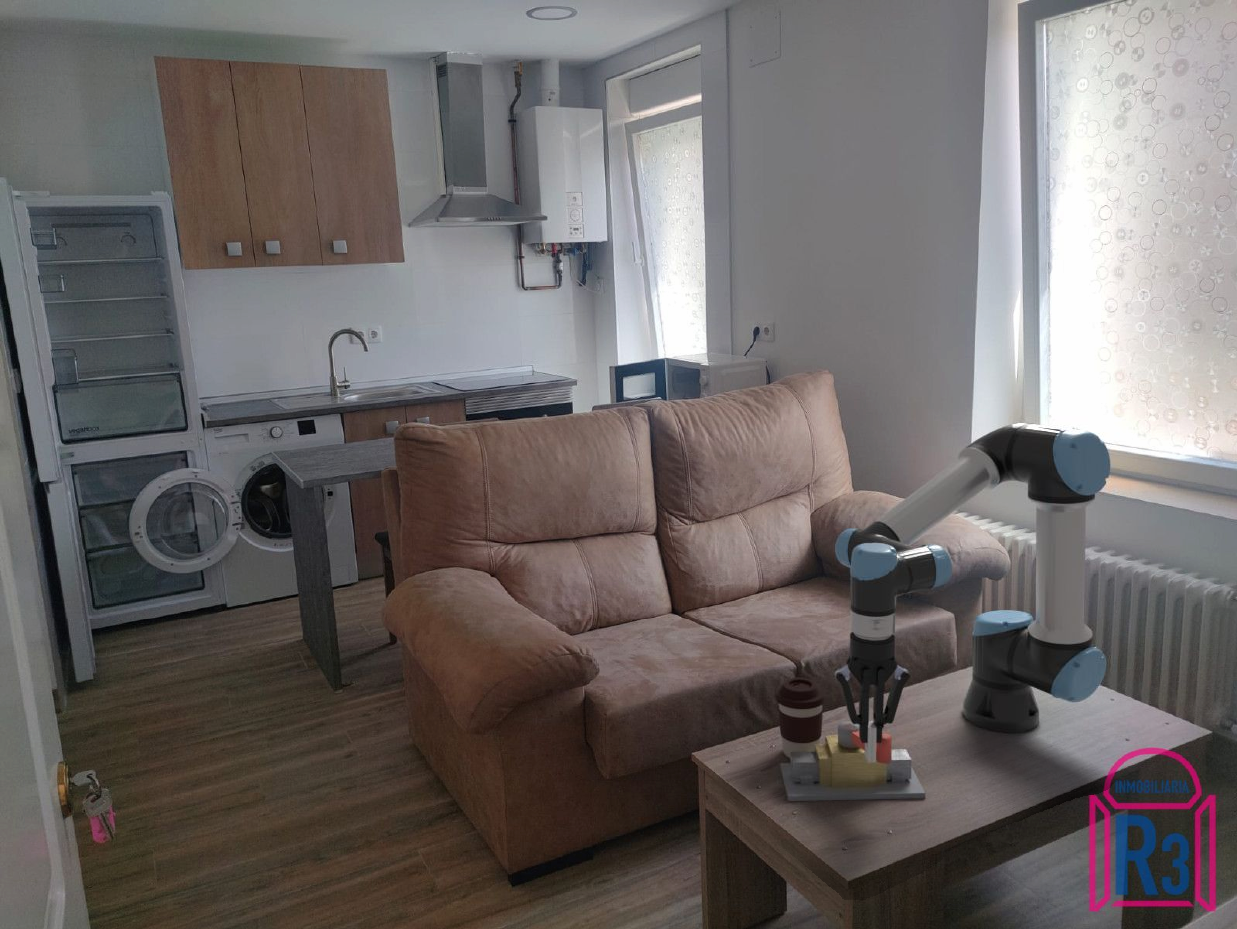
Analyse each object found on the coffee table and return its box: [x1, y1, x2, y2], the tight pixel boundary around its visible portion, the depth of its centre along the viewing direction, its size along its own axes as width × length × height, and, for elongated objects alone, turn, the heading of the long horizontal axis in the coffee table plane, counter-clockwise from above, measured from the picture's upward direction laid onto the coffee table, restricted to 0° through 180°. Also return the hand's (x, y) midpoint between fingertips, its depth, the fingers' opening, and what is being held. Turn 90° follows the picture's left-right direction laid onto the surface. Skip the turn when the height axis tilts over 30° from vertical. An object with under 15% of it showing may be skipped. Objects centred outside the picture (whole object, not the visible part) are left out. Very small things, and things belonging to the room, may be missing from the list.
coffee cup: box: [774, 677, 826, 759], centre depth 187 cm, size 10×10×15 cm
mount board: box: [779, 762, 926, 802], centre depth 176 cm, size 25×12×1 cm, turn 87°
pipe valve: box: [789, 734, 912, 788], centre depth 176 cm, size 22×7×7 cm, turn 87°
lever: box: [837, 720, 893, 764], centre depth 170 cm, size 14×4×6 cm, turn 23°
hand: (870, 758), depth 164 cm, fingers closed
